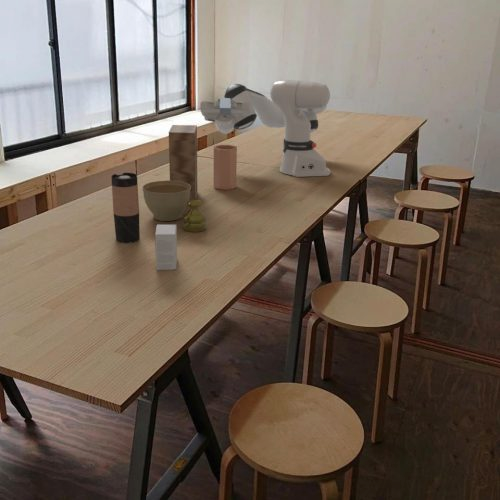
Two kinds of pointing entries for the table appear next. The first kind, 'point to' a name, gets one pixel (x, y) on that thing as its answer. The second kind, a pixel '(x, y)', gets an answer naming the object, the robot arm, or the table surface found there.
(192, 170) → the stand
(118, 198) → the travel mug
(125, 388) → the table surface
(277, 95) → the robot arm
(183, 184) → the planter bowl
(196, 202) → the olive green tiered figure
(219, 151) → the crock
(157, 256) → the small box
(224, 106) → the lid slat
